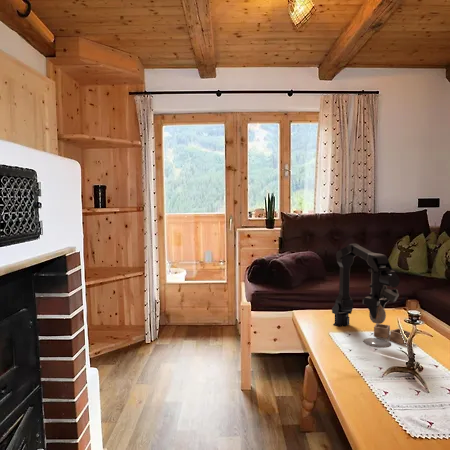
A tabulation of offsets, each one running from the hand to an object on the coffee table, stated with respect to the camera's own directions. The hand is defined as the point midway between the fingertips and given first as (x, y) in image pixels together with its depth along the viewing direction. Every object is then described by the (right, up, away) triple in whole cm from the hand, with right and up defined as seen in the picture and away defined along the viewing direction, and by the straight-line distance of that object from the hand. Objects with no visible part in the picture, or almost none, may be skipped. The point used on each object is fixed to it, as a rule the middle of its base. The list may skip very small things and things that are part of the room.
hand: (377, 316), depth 172 cm
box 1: (+6, -12, +10) cm, 17 cm away
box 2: (+11, -12, +2) cm, 17 cm away
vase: (0, -3, 0) cm, 3 cm away
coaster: (0, -12, +1) cm, 12 cm away
